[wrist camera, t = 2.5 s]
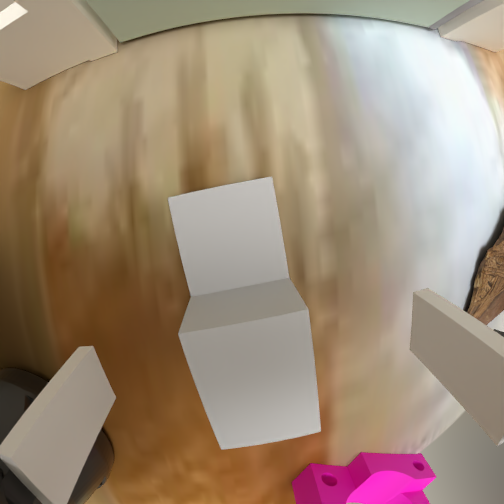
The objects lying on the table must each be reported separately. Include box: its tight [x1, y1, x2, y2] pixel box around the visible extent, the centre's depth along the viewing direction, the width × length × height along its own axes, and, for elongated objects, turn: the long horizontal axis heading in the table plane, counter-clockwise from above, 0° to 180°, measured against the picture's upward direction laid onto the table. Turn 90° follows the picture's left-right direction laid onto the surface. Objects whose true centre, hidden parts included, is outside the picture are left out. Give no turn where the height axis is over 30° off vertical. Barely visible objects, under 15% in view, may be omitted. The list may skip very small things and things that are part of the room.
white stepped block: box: [168, 177, 321, 450], centre depth 15 cm, size 5×12×8 cm, turn 11°
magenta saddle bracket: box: [292, 452, 436, 504], centre depth 21 cm, size 15×6×8 cm, turn 65°
